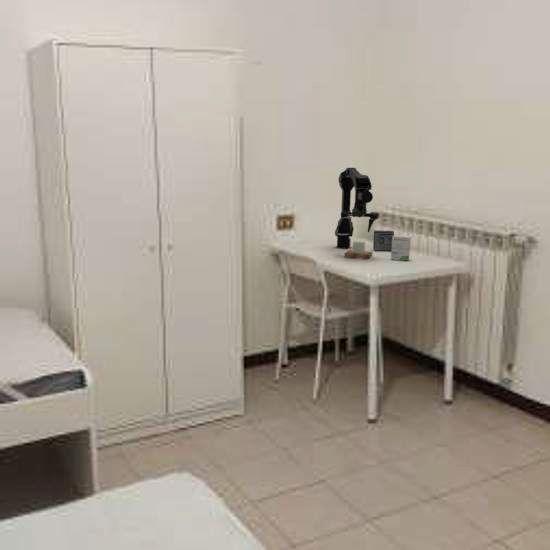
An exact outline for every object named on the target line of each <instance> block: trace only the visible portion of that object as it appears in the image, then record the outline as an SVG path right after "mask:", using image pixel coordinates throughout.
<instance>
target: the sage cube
mask: <svg viewBox="0 0 550 550" xmlns="http://www.w3.org/2000/svg"><path fill="white" fill-rule="evenodd" d="M365 246H366V241H354V242H352V250H353V253H363V252H364V251H366V247H365Z"/></svg>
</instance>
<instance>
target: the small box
mask: <svg viewBox="0 0 550 550" xmlns="http://www.w3.org/2000/svg"><path fill="white" fill-rule="evenodd" d="M393 236H395V231H394V230H378V229H377V230H373V246H372V247H373V249H374V250H375V251H374V250H373V251H374V252H391V249H392V237H393Z"/></svg>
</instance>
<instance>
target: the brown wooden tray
mask: <svg viewBox="0 0 550 550" xmlns="http://www.w3.org/2000/svg"><path fill="white" fill-rule="evenodd" d="M371 256H372V257H373V251H366V250H365V251H364V252H363V253H353V249H349V250H347V251H346V252H345V253H344V258H345V257H346V258H347V259H356V258H362V259H361V260H369V259H370V258H371ZM346 258H345V259H346Z"/></svg>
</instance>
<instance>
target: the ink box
mask: <svg viewBox="0 0 550 550" xmlns="http://www.w3.org/2000/svg"><path fill="white" fill-rule="evenodd" d="M410 248H411V236H408V235H407V236H405V235H404V236H403V235H394V236H393V237H392V249H391V251H390V260H391V259H394V260H393V261H400V260H408V261H409V260H410Z"/></svg>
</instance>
